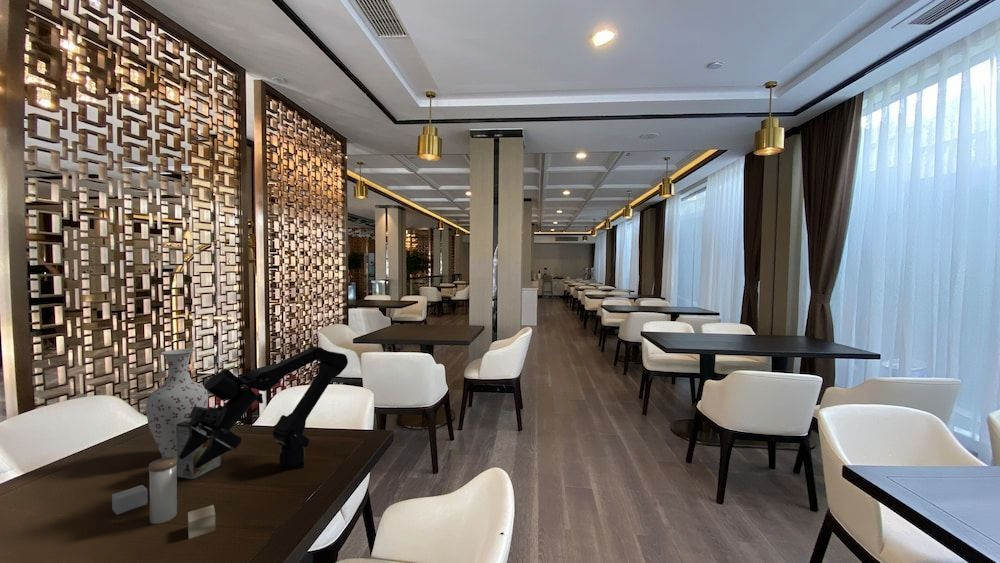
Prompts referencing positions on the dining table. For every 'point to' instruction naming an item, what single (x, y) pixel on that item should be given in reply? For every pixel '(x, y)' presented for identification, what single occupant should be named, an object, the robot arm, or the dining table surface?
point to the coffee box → (192, 455)
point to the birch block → (201, 521)
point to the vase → (173, 401)
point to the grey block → (129, 499)
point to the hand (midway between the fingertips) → (187, 462)
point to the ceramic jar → (163, 489)
